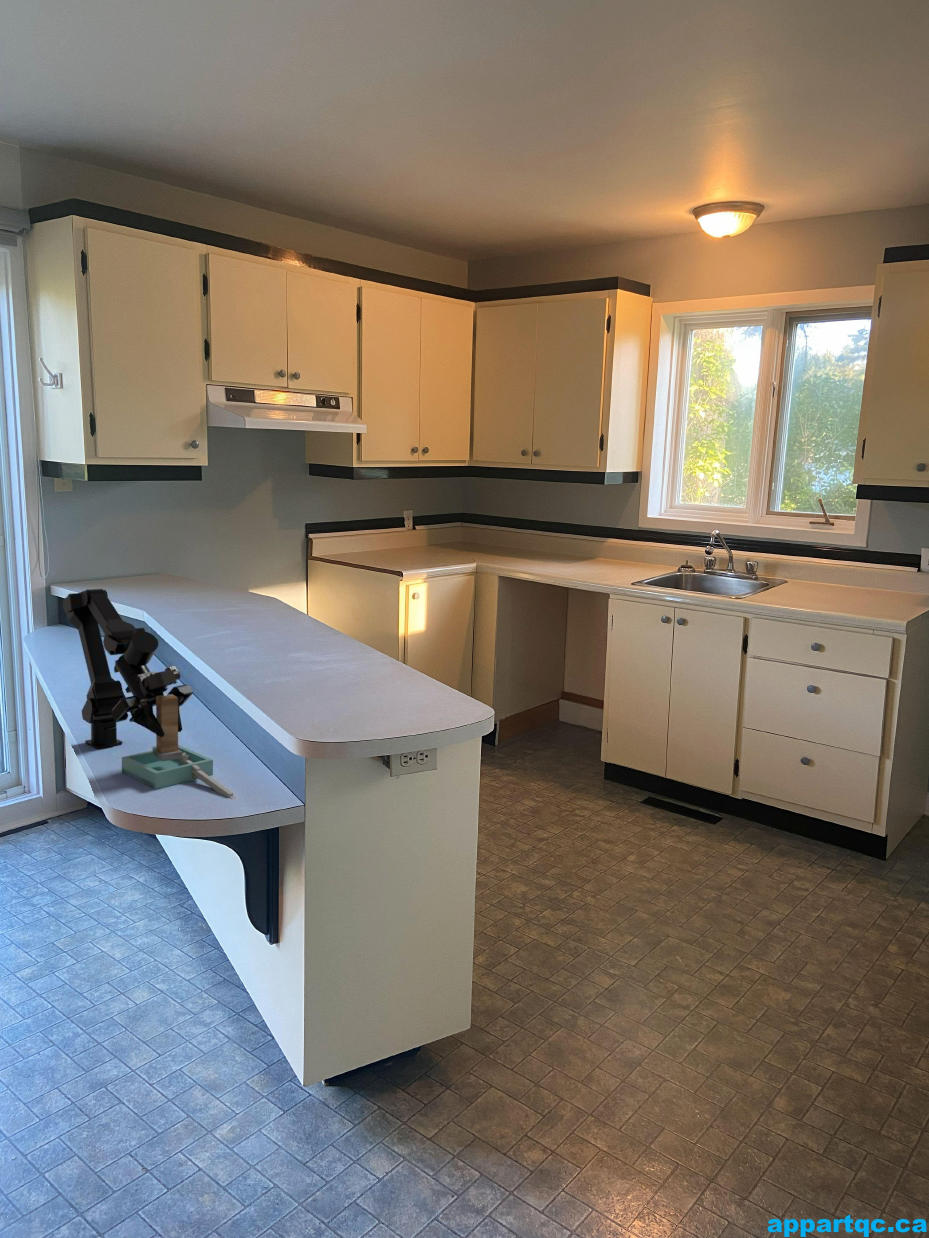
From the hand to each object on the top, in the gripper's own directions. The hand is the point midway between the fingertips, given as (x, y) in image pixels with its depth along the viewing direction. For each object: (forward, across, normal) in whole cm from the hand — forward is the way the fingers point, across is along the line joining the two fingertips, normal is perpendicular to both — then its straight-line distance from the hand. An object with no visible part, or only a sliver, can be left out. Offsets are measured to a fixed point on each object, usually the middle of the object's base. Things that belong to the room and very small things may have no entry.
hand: (172, 733), depth 195 cm
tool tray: (+6, 0, +8) cm, 10 cm away
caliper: (+15, 0, 0) cm, 15 cm away
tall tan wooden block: (+3, 0, +5) cm, 6 cm away
